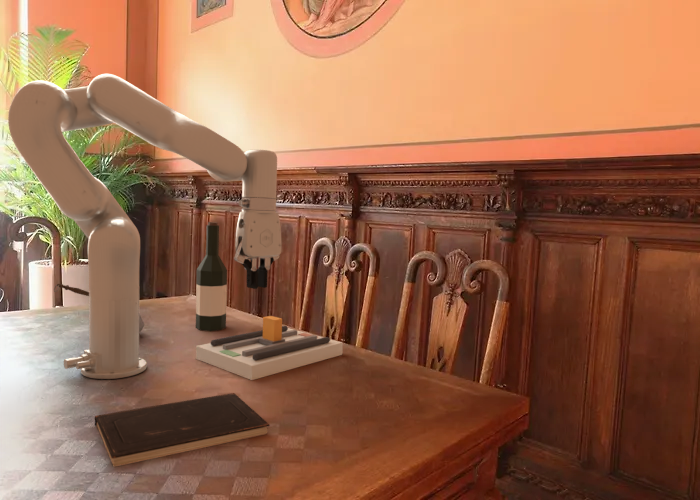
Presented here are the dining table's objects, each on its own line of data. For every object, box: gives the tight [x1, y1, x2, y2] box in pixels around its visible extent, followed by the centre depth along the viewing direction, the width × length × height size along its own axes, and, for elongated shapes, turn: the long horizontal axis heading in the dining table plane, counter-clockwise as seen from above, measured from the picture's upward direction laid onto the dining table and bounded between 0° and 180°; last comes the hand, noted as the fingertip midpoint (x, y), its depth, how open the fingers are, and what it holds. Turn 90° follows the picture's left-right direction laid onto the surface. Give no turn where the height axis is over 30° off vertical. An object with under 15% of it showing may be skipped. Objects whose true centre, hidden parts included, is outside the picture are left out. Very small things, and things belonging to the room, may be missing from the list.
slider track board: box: [195, 327, 344, 381], centre depth 127 cm, size 28×20×4 cm
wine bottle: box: [195, 221, 228, 332], centre depth 151 cm, size 8×8×30 cm
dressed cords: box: [210, 325, 330, 360], centre depth 126 cm, size 23×16×1 cm
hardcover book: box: [94, 392, 270, 467], centre depth 85 cm, size 16×23×2 cm
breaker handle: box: [259, 315, 285, 345], centre depth 126 cm, size 4×5×6 cm
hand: (256, 286), depth 121 cm, fingers closed
